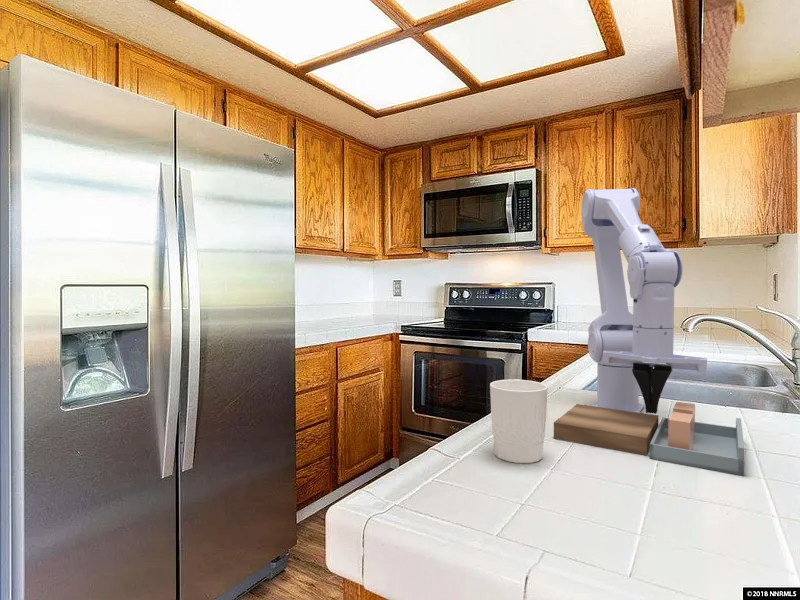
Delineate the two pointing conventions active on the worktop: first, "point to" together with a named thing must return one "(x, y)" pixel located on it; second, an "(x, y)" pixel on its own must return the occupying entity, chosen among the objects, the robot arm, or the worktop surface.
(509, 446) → the white cup
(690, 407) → the tile far
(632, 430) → the board
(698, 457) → the tray
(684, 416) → the tile near
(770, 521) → the worktop surface
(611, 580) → the worktop surface
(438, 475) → the worktop surface
